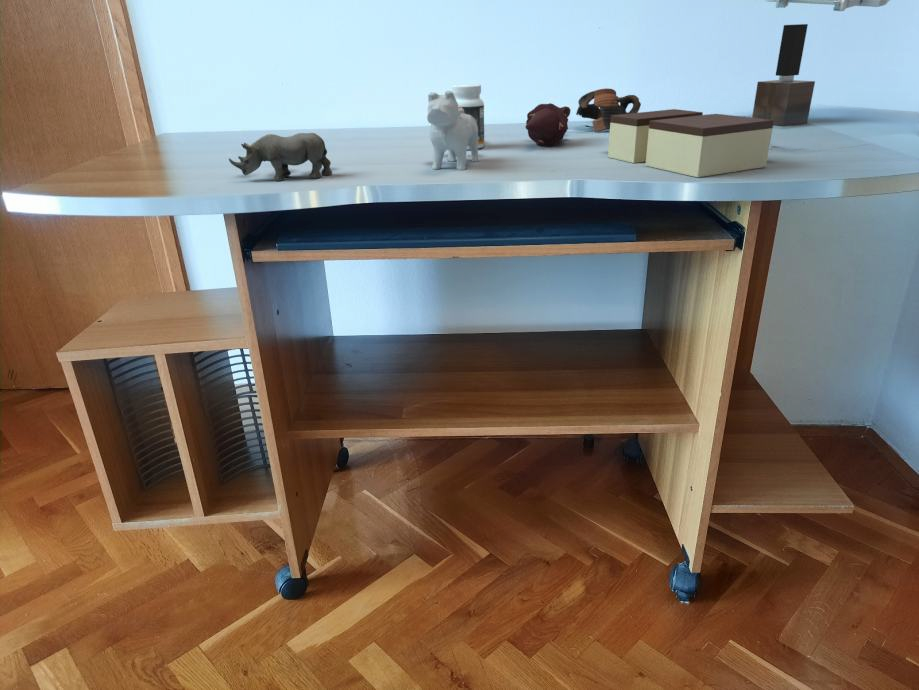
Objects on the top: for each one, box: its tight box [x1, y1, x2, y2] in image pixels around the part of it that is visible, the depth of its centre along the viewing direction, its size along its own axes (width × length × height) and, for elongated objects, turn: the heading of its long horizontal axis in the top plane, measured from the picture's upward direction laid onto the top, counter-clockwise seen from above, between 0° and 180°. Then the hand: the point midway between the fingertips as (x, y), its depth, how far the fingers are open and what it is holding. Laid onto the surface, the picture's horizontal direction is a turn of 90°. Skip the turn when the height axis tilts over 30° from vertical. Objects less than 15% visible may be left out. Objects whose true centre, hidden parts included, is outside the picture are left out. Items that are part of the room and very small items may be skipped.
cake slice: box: [607, 108, 704, 164], centre depth 95 cm, size 6×12×6 cm, turn 115°
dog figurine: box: [426, 90, 479, 171], centre depth 92 cm, size 5×13×11 cm, turn 163°
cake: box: [645, 113, 774, 178], centre depth 86 cm, size 10×12×6 cm
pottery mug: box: [575, 88, 642, 133], centre depth 123 cm, size 12×10×8 cm
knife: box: [775, 23, 809, 82], centre depth 112 cm, size 2×3×16 cm
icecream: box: [525, 102, 571, 147], centre depth 107 cm, size 7×7×15 cm
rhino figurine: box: [228, 132, 333, 182], centre depth 89 cm, size 4×14×6 cm, turn 98°
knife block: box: [751, 79, 816, 128], centre depth 115 cm, size 7×6×8 cm
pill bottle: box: [452, 83, 485, 151], centre depth 107 cm, size 6×6×10 cm
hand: (808, 4), depth 107 cm, fingers open, 8 cm apart
